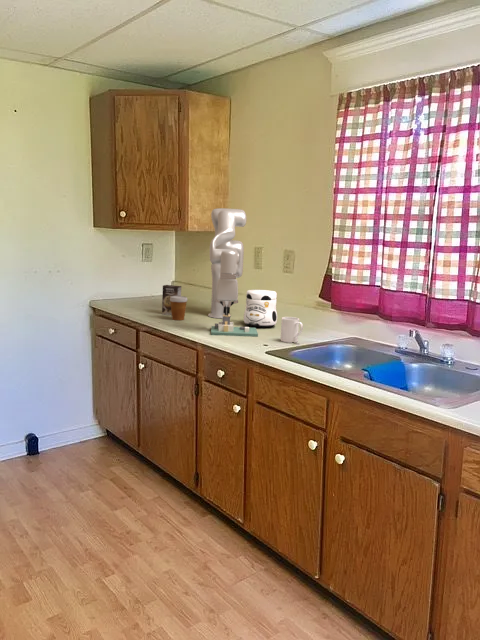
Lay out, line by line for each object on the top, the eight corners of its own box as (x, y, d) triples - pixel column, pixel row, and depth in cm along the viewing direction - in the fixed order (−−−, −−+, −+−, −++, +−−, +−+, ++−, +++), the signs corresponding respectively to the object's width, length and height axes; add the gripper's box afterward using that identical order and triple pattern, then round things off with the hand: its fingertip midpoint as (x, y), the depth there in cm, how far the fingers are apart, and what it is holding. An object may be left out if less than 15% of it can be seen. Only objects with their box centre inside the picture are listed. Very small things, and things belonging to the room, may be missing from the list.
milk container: (247, 329, 281) (248, 293, 278) (240, 322, 298) (241, 289, 295) (280, 329, 285) (282, 294, 281) (272, 323, 301) (273, 289, 298)
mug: (276, 340, 258) (278, 317, 256) (290, 338, 262) (291, 316, 261) (294, 345, 248) (295, 321, 246) (307, 343, 253) (309, 320, 251)
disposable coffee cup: (171, 321, 293) (172, 298, 291) (167, 318, 302) (167, 295, 300) (189, 320, 297) (190, 298, 295) (184, 317, 305) (184, 295, 303)
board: (211, 328, 278) (211, 320, 278) (255, 330, 279) (256, 321, 279) (210, 334, 263) (211, 326, 262) (257, 336, 263) (258, 327, 263)
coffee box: (161, 314, 313) (162, 285, 310) (165, 312, 319) (166, 284, 316) (176, 315, 311) (177, 286, 308) (180, 314, 317) (181, 285, 314)
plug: (222, 328, 273) (222, 314, 272) (229, 328, 273) (229, 314, 272) (222, 330, 267) (222, 316, 266) (229, 331, 268) (230, 316, 266)
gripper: (243, 276, 270) (241, 314, 273) (212, 275, 270) (210, 313, 273) (244, 278, 263) (242, 316, 266) (212, 276, 262) (210, 315, 265)
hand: (226, 314), depth 269 cm, fingers closed
